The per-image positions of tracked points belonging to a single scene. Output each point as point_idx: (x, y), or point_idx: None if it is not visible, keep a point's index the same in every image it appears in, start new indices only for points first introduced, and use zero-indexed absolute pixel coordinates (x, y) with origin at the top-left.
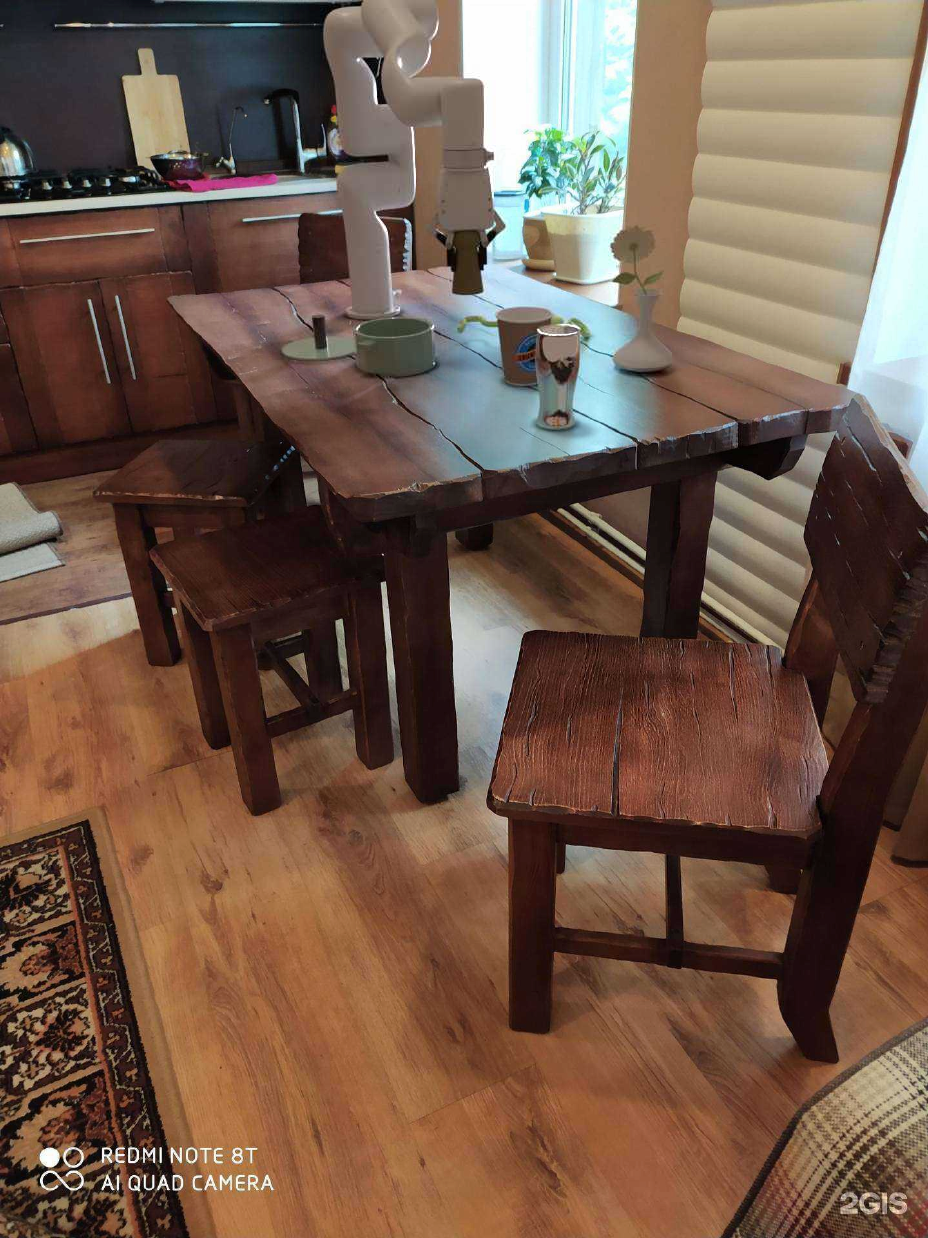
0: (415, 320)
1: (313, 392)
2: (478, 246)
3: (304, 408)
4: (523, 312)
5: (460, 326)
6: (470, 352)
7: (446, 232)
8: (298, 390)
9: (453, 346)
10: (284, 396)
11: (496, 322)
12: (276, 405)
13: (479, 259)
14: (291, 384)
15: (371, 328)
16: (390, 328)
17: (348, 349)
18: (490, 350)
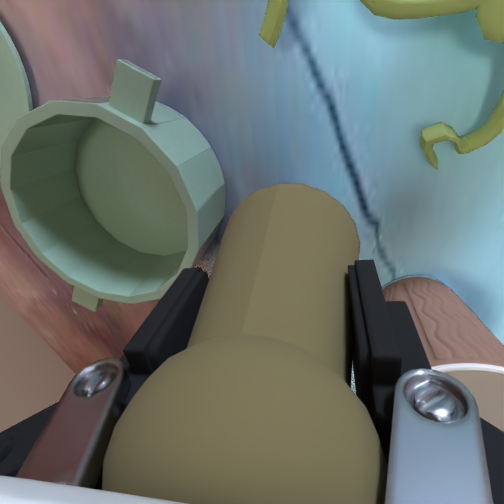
0: (127, 133)
1: (74, 311)
2: (361, 378)
3: (94, 360)
4: (475, 361)
5: (268, 27)
6: (306, 82)
7: (25, 466)
8: (50, 301)
9: (253, 7)
10: (46, 320)
11: (411, 13)
12: (56, 347)
13: (353, 357)
14: (25, 275)
15: (30, 148)
16: (69, 116)
17: (8, 101)
18: (367, 60)
